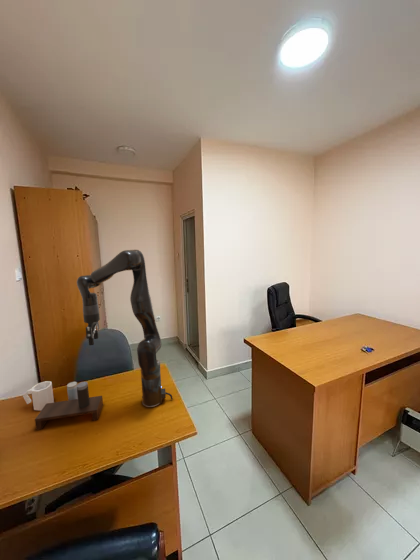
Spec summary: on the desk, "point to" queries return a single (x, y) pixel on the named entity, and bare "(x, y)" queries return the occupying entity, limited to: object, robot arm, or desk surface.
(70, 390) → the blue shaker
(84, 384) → the dark shaker
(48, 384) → the mug
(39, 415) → the desk shelf
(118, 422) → the desk surface
